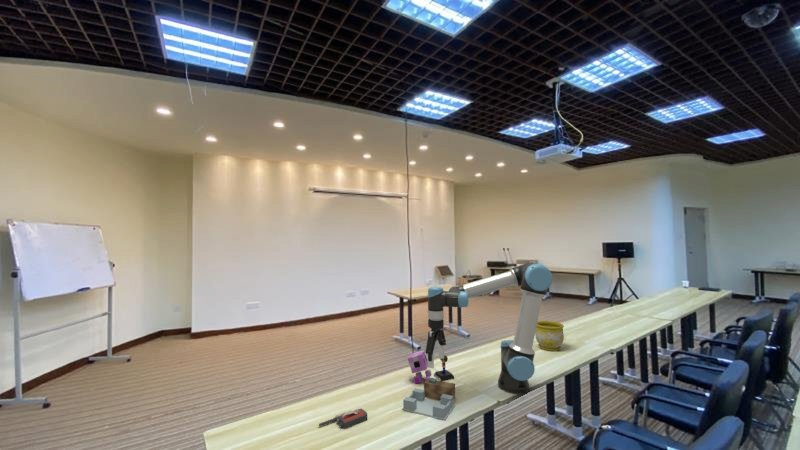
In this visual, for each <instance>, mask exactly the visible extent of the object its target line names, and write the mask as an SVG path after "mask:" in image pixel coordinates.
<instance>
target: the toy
mask: <svg viewBox="0 0 800 450" xmlns="http://www.w3.org/2000/svg"><path fill="white" fill-rule="evenodd" d="M407 361H408V365H409V367H410V371H411V373H412V374H415V376H414V378H413V380H414V383H415V384H419V383H421V382H422V378H423V374H422V372H423V371H424V375H425V377H424V382H425V381H426V380H427V379H430V378H431V377H432V370H431V369H428V368H429V367H428V357H427V355H426V351H425V350H424V349H423V350H420V351H416V352H413V353H410V354H409V355H408V357H407Z"/></svg>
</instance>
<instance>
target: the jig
mask: <svg viewBox="0 0 800 450" xmlns="http://www.w3.org/2000/svg"><path fill="white" fill-rule="evenodd" d="M411 392H412V393H410V395H408V396H405V397H404V398H403V400H402V403H403V404H402V405H403V406H402V408H401V409H402V410H403V411H405V412H410V413H415V414H418V415H423V416H426V417H431V418H434V417H435V419H438V418H440V419H439V420H442V419H443V421H446V420H447V418H448V417H449V415H450V414H451V412H452V411H453V410H454V408H455V407H456V406H455V404H454V401H453V396H451V395H446V394H442V396H441V401H440V400H435V399H431V398H426V397H425V390H424V389H422V388H416V387H415V388H413V389H412V391H411Z"/></svg>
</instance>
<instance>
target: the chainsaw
mask: <svg viewBox="0 0 800 450" xmlns="http://www.w3.org/2000/svg"><path fill="white" fill-rule="evenodd" d="M366 421H368V412H367V411H366V410H365V409H363V408H358V409H355V410H349V411H347V412H342V413H340V414H336V415H335V417H333V418H331V419H328V420H326V421H323V422H320V423H318V426H319V427H321V426H324V425H327V424H330V423H333V422H335V423H336V424H338V425H339V427H340V428H343V429H344V430H346V429H348V428H351V427H353V426H356V425H358V424H360V423H363V422H366Z"/></svg>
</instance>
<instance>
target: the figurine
mask: <svg viewBox="0 0 800 450" xmlns="http://www.w3.org/2000/svg"><path fill="white" fill-rule="evenodd" d="M448 359H449V357H448V356H447V355H445V354H444V359H441V358H439V360H440V361H441V367H442V369H441V370H437V371H435V373H433V378H435V379H437V381H442V382H446V381H450V380H455V375H454V374H453V373H452V372H450V371H449V370H447V369H446V362H448Z"/></svg>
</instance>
